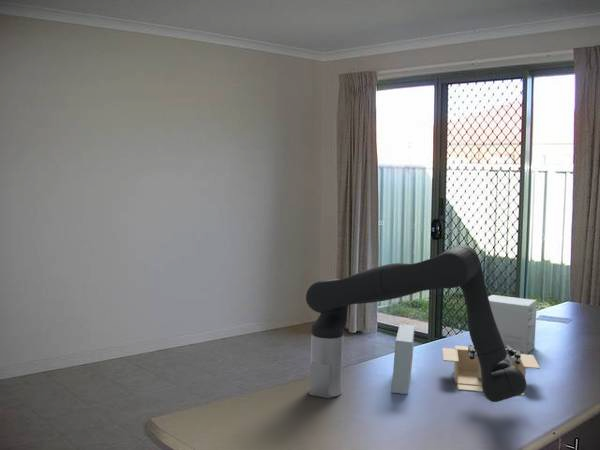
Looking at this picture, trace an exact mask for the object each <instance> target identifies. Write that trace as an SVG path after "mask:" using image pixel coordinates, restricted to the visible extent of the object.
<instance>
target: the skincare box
mask: <svg viewBox="0 0 600 450" xmlns="http://www.w3.org/2000/svg"><path fill="white" fill-rule="evenodd" d="M414 340H415V325H411V324H410V325H409V324H402V323H399V325H398V330H397V334H396V338H395V342H394V343H395V344H394V357H393V368H392V380H391V381H392V382H391V390H390V391H391V392H390V393H393V394H402V395H408V394H409V389H410V383H411V382H410V381H411V376H412V374H411V373H412V368H413V367H412V366H413V355H414V343H415V341H414Z"/></svg>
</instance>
